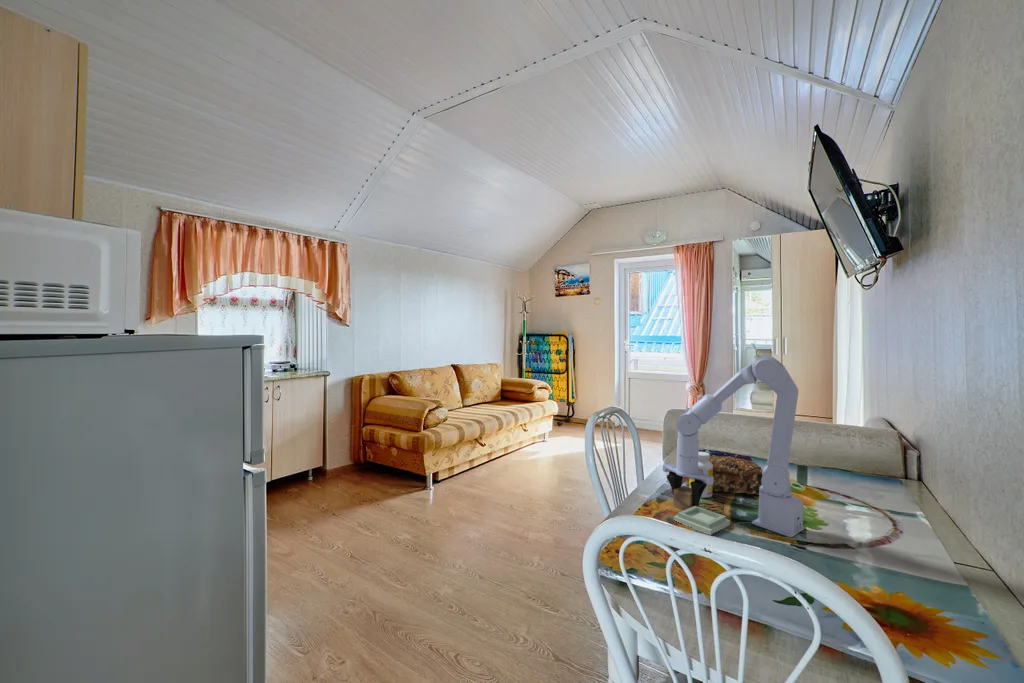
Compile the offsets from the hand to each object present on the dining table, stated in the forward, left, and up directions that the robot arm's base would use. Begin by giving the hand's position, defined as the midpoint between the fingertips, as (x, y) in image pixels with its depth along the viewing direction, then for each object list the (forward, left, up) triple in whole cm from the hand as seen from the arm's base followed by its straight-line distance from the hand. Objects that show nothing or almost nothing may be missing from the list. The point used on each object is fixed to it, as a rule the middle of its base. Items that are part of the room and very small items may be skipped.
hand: (686, 502), depth 124 cm
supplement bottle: (+3, -13, -2) cm, 13 cm away
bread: (+1, -26, -2) cm, 26 cm away
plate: (-8, +6, -1) cm, 10 cm away
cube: (0, 0, -1) cm, 1 cm away
